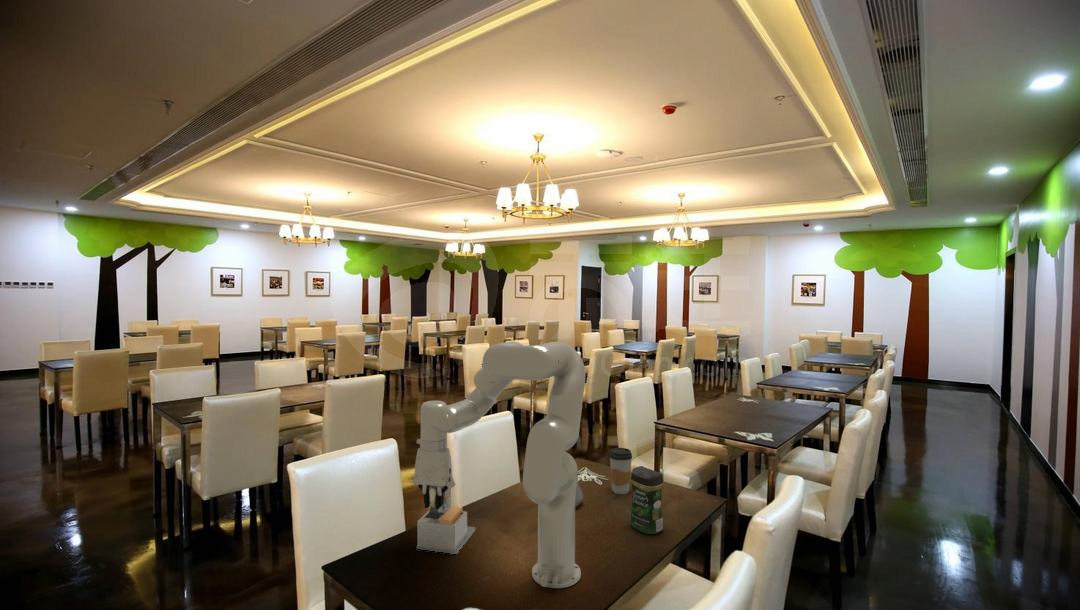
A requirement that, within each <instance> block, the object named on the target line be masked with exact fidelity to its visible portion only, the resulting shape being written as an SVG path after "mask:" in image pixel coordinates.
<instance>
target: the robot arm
mask: <svg viewBox="0 0 1080 610" xmlns="http://www.w3.org/2000/svg"><path fill="white" fill-rule="evenodd" d="M551 377H552V378H553V382H552V387H551V389H550V393H549V396H548V397H549V398H548V406H547V410H546V411H547V412H546V415H545V417H544V418H542V419H540V420H539V421H537V422H535V424H534V425H533V426H532V428H531V429H530V431H529V433H528V436H527V439H526V440H527V441H526V446H525V447H526V448H525V456H524V463H523V471H522V473H523V474H522V487H523V490H524V492H525V494H526V496H527V497H528V498H529V499H530V501H532V502H534V503H535V504H538V505H537V506H538V507H537V562H536V563H535V564H534V565H533V567H532V569H531V576H532V578H533V580H534V582H536V583H537V584H538V585H540V586H541V587H543V588H552V589H564V588H568V587H571V586H573V585H575V584H577V583H578V582H579V581H580V580H581V576H582V570H581V568H580V566H579V565H578V564H576V554H575V553H576V537H575V536H576V507H575V498H576V489H577V482H578V480H579V479H578V478H579V469H578V464H577V462H576V460H575V459H574V457H573V456H572V455H571V454H570V453H568V452H567V451H568V450H570V449H571V448H572V447H574V445H575V444H576V443H577V442H578V439H579V434H580V428H581V427H580V426H581V419H582V412H583V411H582V409H583V399H584V392H585V385H586V367H585V364H584V362H583V359H582V357H581V355H580V354H579V353H578V351H577V350H576V349H575V348H574V347H572V346H571V345H570V344H568V343H566V342H562V341H550V342H546V343H545V342H544V343H540V344H536V345H524V344H523V343H520V342H519V341H513V340H512V341H506V342H502V343H500V342H499V343H495V344H493V345H491V346H490V347H488V348H487V349H486V350H485V352H484V353H483V357H482V367H480V368H479V370H478V371H477V372H476V373H475V374H474V375H473V384H474V386H475V388H474V389H473V390H472V392H470V394H469V395H468V396H467V397H466V398H465V399H463V400H461V401H458V402H455V403H452V404H447V403H446V402H444V401H443V400H429V401H424V402H423V403H422V404H421V406H420V438H417V439H416V444H418V445H419V448H418V449H417V452H416V457H415V462H414V464H415V465H414V477H413V480H412V483H413V484H414V485H416V486H417V487H418V488H419V489H420V490H421V493H422V494H423V504H424V509H429V486H437V491H438V494H437V496H436V509H439V508H440V507H441V506H442V505H443V503H444V492H445V491H446V490H448V489H450V488H451V489H452V488H454V487H455V486H456V482H455V480H454V478H453V466H452V456H451V451H450V448H449V447H448V434H452V433H456V432H458V431H460V430H463V429H464V428H468V427H470V426H473V425H474V424H476V423H477V422H479V421H480V420H481V419H482V418H483V417H484V416H485V415H486V414H487V413H488V412H489V411H490V410H491V408H492V407H493V406H494V404H495V403H496V401H497V398H498V396H499V395H500V394H501V393H502V392H503V391H504V390H505V389H506V388H507V387H508V386H509V385H510V384H511V383H512V382H513V380H514V381H515V380H517V381H518V380H520V381H521V380H522V381H542V380H546V379H549V378H551ZM447 483H448V484H447ZM446 484H447V485H446Z"/></svg>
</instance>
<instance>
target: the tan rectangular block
mask: <svg viewBox="0 0 1080 610" xmlns="http://www.w3.org/2000/svg"><path fill="white" fill-rule="evenodd" d="M463 509H464V508H463V506H455V505H454V506H453V505H451V508H450V509H449V510H448V511H447V512H446V513H445V514H444V515H443V516H442V517H441V518H440V523H441V524H449V525H450V524H451V523H453V524H454V523H455V521H456V520H457V519H458V518H459V517H460V516H461V512H462V511H464V510H463Z"/></svg>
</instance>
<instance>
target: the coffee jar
mask: <svg viewBox="0 0 1080 610" xmlns="http://www.w3.org/2000/svg"><path fill="white" fill-rule="evenodd" d="M630 484H631V488H632V499H631V509H630V511H631V512H630V526H631V527H632V528H633V529H634V530H637V531H638V532H641V533H643V534H646V535H656V534H659V533H661V532H662V531H663V529H664V521H663V520H664V519H663V518H664V517H663V508H662V506H663V505H662V491H663V487H664V476H663V473H662V472H661V471H660V472H659V471H656V470H653V469H651V468H647V467H646V466H645V467H644V466H643V465H640V466H637V467H636V466H635V467H634V468H633V469H631V477H630Z"/></svg>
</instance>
